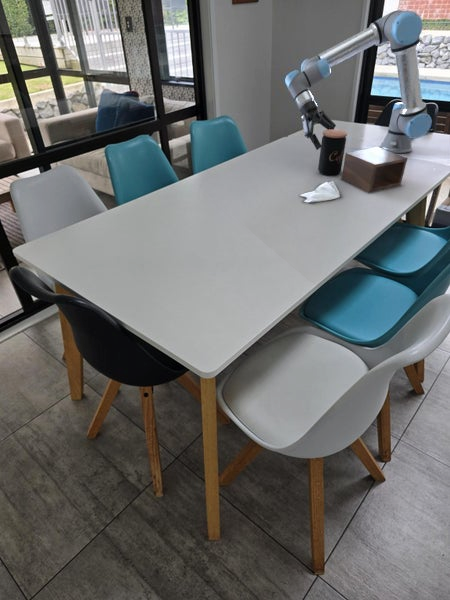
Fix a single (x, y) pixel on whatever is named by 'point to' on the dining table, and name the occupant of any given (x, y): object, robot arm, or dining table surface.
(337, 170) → the coffee jar
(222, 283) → the dining table surface
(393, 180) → the dark wooden box
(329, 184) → the cloth
